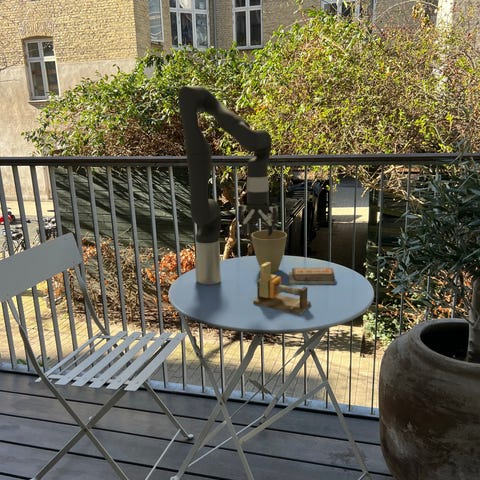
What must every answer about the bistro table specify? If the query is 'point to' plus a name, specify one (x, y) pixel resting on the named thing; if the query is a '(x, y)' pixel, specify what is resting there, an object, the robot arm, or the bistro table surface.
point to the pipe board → (285, 299)
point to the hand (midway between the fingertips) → (258, 234)
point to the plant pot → (269, 247)
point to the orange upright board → (272, 293)
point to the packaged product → (312, 276)
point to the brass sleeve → (265, 279)
